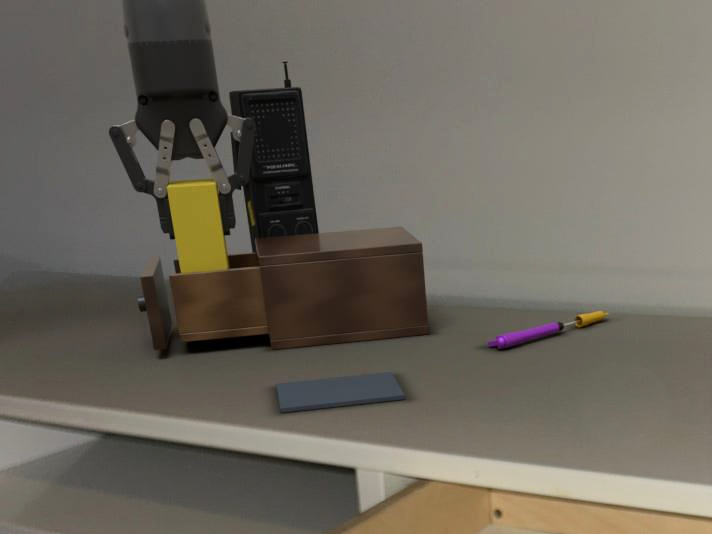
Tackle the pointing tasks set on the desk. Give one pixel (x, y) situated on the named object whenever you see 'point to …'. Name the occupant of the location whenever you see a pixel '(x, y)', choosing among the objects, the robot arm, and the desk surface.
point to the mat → (338, 392)
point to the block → (197, 225)
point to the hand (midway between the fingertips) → (200, 235)
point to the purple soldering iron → (544, 330)
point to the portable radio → (276, 162)
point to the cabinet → (343, 286)
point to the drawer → (205, 301)
